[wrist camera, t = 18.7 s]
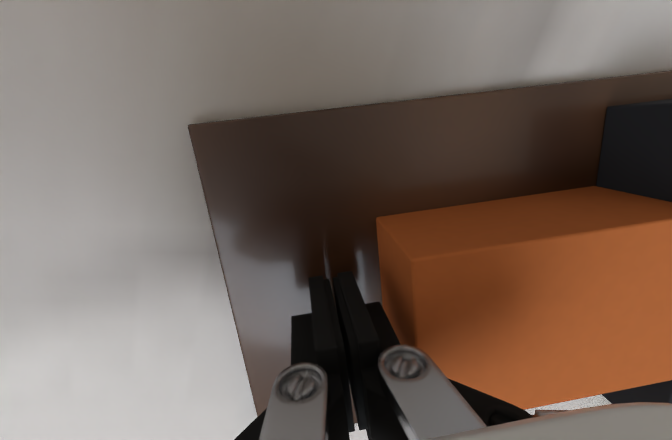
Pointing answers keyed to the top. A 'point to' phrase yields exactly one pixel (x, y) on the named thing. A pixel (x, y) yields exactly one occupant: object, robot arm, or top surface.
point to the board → (379, 186)
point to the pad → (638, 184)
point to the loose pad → (535, 292)
